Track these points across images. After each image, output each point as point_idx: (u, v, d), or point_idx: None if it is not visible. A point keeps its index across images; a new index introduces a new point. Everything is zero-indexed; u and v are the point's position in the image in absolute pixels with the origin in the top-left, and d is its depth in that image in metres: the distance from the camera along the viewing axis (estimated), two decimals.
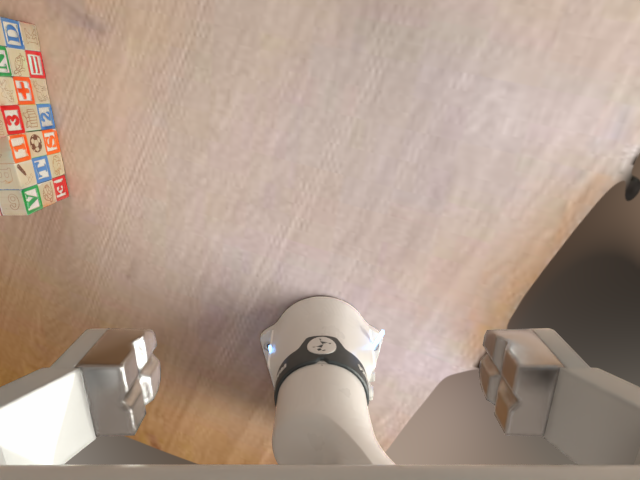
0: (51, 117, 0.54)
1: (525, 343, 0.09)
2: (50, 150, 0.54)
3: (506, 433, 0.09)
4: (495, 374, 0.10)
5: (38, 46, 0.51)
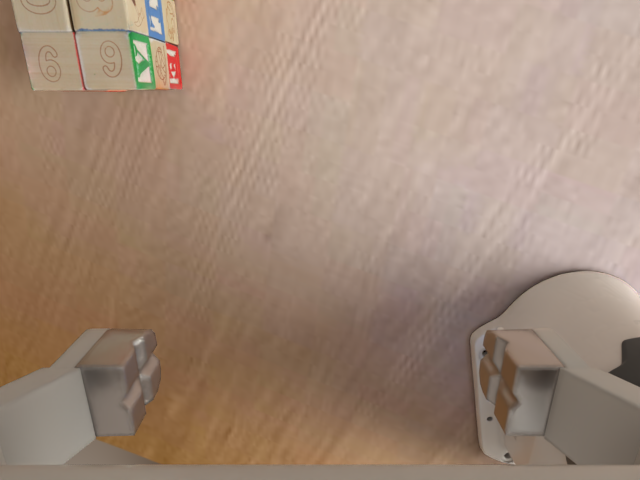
0: None
1: (525, 343, 0.09)
2: None
3: (507, 433, 0.09)
4: (495, 374, 0.10)
5: None
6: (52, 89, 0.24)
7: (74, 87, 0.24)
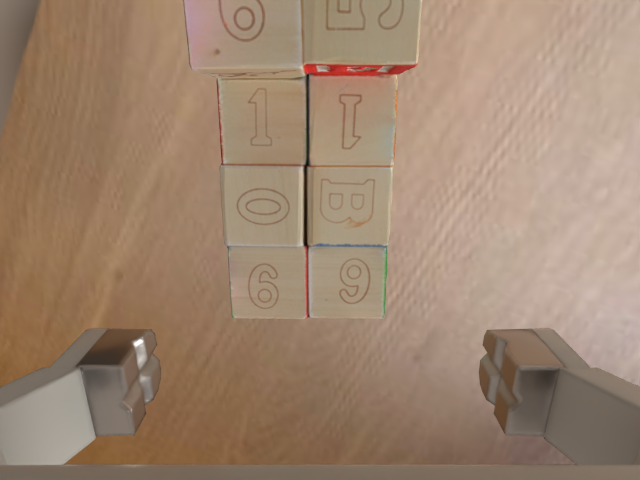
0: None
1: (525, 343, 0.09)
2: None
3: (507, 433, 0.09)
4: (494, 374, 0.10)
5: None
6: (261, 317, 0.17)
7: (294, 315, 0.17)
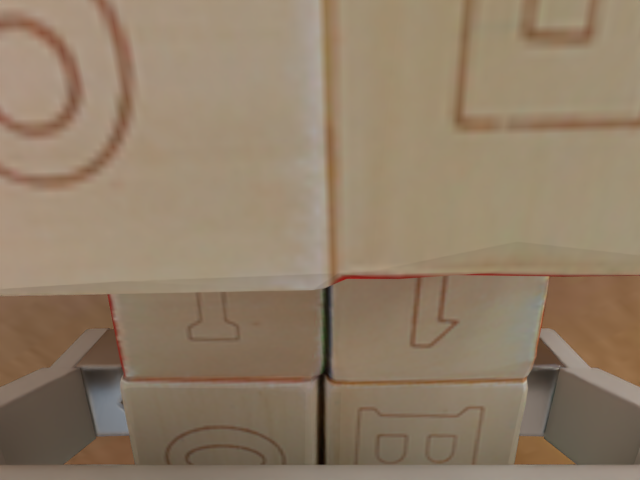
0: None
1: None
2: None
3: None
4: None
5: None
6: None
7: None
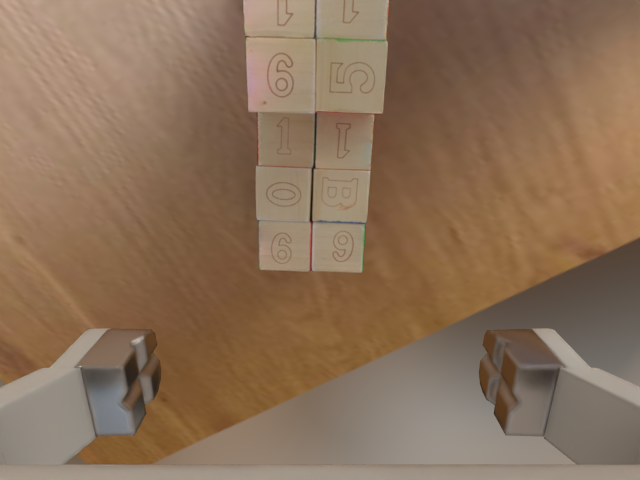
0: None
1: (525, 343, 0.09)
2: None
3: (507, 433, 0.09)
4: (494, 374, 0.10)
5: None
6: (279, 269, 0.25)
7: (301, 268, 0.24)
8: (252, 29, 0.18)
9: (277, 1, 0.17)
